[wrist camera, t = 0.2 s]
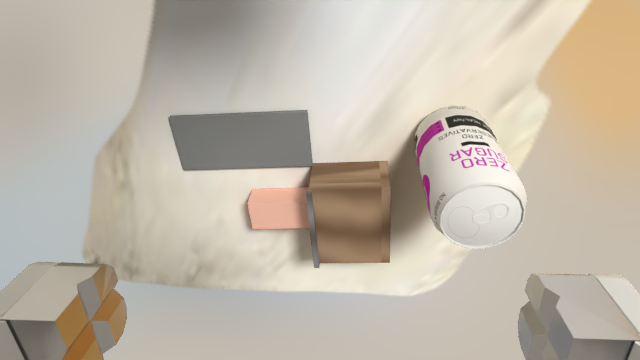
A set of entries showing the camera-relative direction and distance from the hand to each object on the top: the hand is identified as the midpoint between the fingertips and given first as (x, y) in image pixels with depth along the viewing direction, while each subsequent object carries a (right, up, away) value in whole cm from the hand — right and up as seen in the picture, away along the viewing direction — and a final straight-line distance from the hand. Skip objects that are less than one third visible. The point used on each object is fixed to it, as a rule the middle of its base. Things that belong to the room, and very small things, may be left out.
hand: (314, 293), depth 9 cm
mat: (-9, +7, +43) cm, 44 cm away
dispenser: (+4, 0, +47) cm, 47 cm away
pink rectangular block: (-1, 0, +47) cm, 47 cm away
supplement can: (+15, +7, +41) cm, 44 cm away
